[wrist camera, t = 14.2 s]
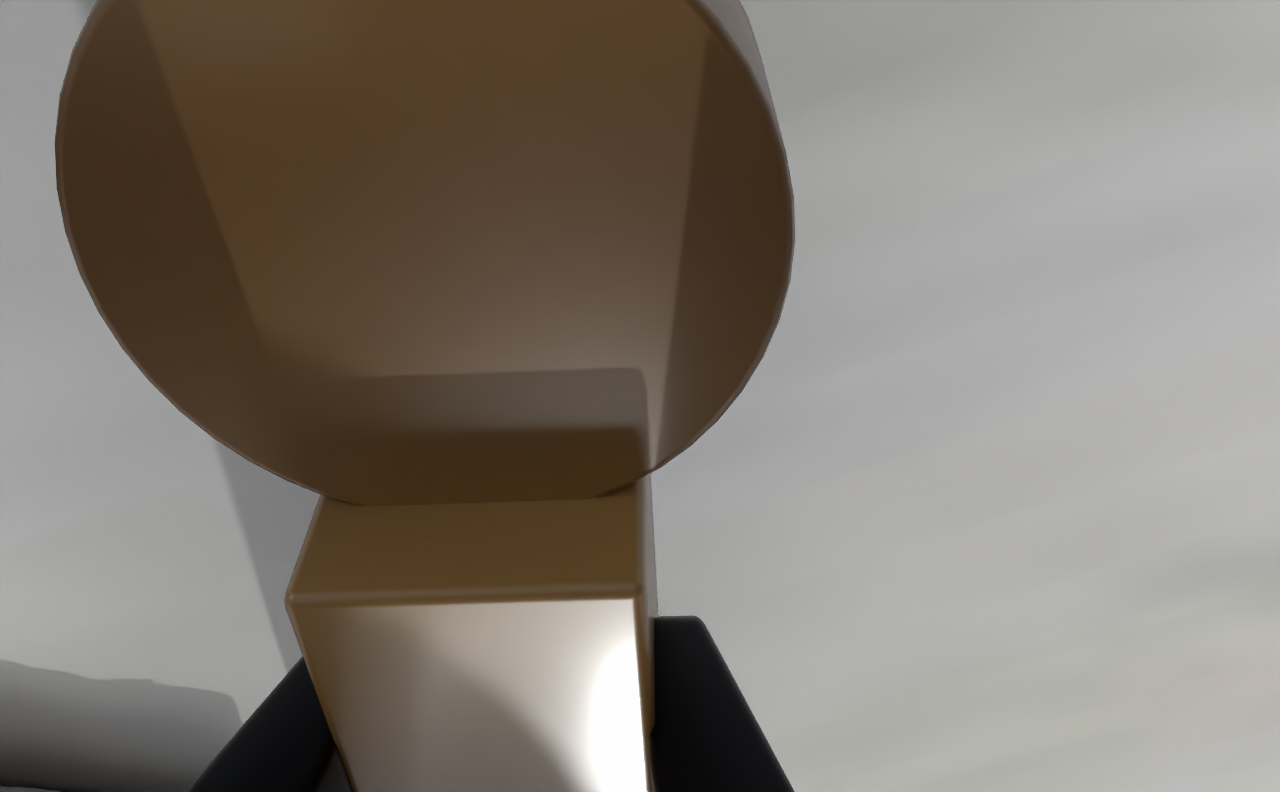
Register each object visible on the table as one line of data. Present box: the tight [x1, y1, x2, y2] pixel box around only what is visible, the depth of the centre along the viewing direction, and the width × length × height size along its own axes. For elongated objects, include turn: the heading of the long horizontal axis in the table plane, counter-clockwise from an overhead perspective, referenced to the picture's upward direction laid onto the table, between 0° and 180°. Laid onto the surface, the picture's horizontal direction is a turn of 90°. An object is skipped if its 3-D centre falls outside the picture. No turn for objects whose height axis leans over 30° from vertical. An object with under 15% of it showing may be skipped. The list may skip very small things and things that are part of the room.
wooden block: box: [55, 0, 795, 792], centre depth 8 cm, size 10×4×2 cm, turn 3°
